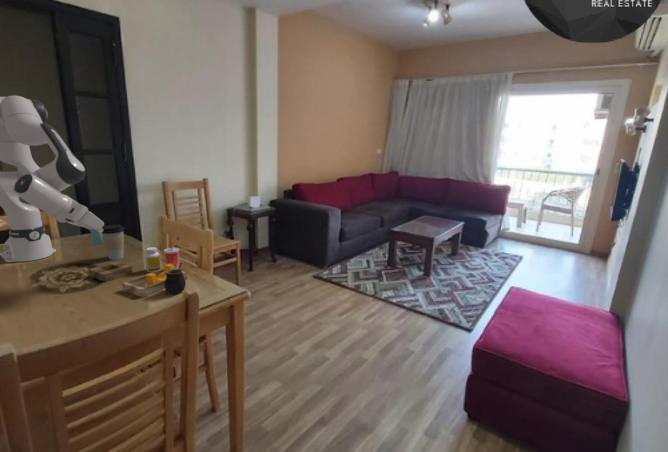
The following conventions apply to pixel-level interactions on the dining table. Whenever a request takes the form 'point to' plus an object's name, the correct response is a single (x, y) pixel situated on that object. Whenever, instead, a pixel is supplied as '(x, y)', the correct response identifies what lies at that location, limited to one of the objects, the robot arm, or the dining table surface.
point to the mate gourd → (174, 281)
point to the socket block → (110, 271)
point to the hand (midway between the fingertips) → (97, 230)
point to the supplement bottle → (152, 259)
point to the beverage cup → (172, 256)
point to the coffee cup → (113, 241)
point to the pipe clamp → (162, 276)
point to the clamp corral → (134, 284)
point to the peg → (96, 237)
